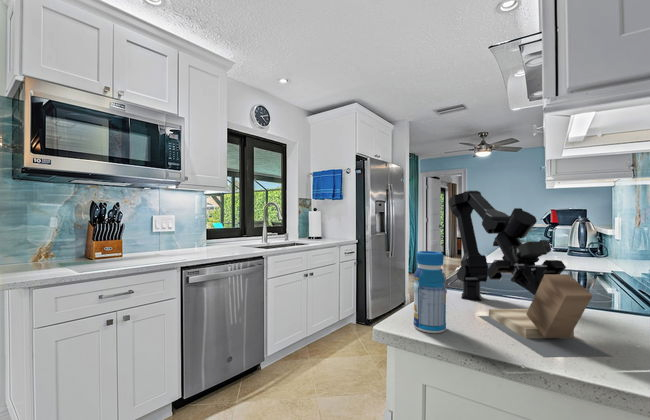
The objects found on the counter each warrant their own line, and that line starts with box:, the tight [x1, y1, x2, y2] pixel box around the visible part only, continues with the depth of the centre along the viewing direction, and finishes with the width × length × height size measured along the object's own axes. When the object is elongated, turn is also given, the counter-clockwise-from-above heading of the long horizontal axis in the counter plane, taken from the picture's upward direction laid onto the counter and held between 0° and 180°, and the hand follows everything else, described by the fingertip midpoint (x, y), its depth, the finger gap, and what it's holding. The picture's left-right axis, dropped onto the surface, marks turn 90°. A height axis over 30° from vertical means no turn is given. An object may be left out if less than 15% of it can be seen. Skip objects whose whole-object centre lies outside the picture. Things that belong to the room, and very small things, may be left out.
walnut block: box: [526, 273, 594, 337], centre depth 72 cm, size 7×6×13 cm
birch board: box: [488, 308, 575, 338], centre depth 81 cm, size 16×12×2 cm
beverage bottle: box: [412, 250, 448, 334], centre depth 80 cm, size 8×8×20 cm
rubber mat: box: [477, 315, 613, 358], centre depth 77 cm, size 26×15×1 cm, turn 2°
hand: (541, 297), depth 76 cm, fingers closed
